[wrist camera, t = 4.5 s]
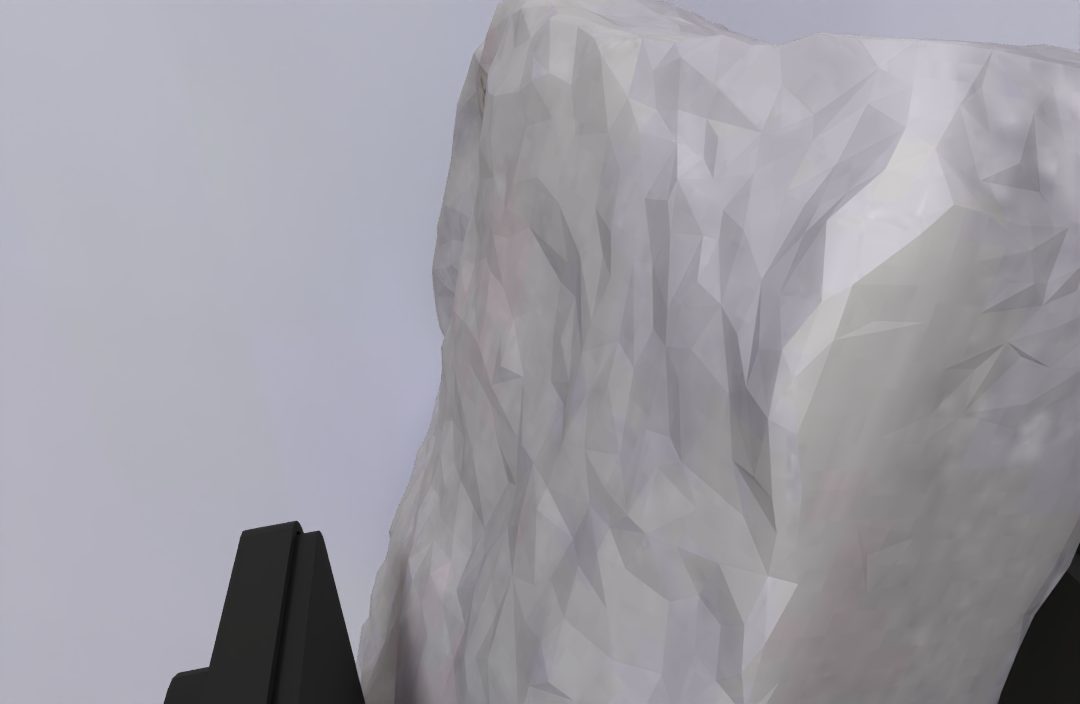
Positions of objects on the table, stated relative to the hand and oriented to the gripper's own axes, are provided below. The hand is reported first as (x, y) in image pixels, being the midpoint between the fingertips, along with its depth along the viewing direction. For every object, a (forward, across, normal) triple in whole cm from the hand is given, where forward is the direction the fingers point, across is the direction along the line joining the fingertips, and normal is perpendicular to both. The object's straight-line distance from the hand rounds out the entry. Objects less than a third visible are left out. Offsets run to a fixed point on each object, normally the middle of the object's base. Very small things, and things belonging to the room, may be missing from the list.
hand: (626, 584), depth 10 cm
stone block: (+6, 0, 0) cm, 6 cm away
